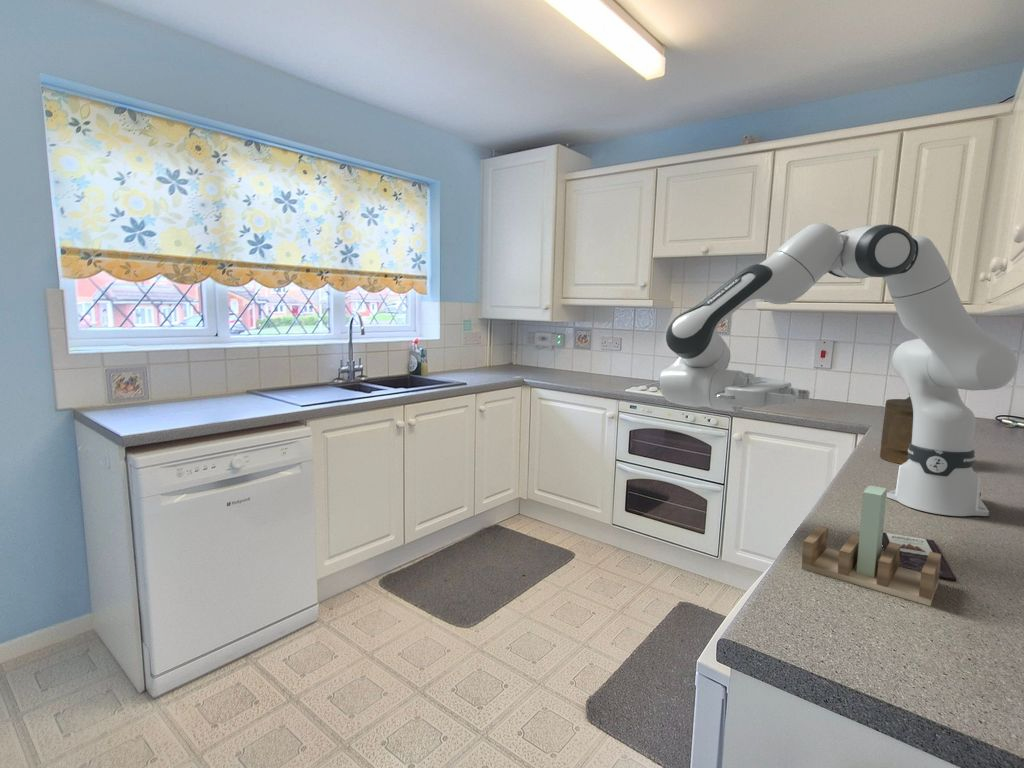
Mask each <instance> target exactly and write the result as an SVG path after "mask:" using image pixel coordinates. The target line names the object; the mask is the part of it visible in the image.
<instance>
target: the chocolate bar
mask: <svg viewBox="0 0 1024 768" xmlns="http://www.w3.org/2000/svg"><path fill="white" fill-rule="evenodd" d="M890 542H892V543H896V544H901V546H900V557H899V567H902V568H905V569H909V570H913V571H917V572H921V571H922V569H923V566H924V564H925V562H926V559H927V557H928V555H929V552H934V553H939V554H941V562H940V572H939V580H941V581H946V582H953V583H957V578H956V576H955V574H954V572H953V570H952V569H951V568H950V566H949V564H948V562H947V561H946V559H945V557H944V556H943V553H942V552H941V550H940V549H939V547H938V545H937V544H936V542H935V540H934V539H928V538H921V537H916V536H915V537H914V536H907V535H902V534H895V533H889V532H883V536H882V545H883V547H882V549H883V548H884V550H883V552H884V551H885V549H886V548H887V546H888V545H889V543H890Z"/></svg>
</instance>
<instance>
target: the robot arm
mask: <svg viewBox="0 0 1024 768" xmlns="http://www.w3.org/2000/svg"><path fill="white" fill-rule="evenodd" d="M828 273H829V274H830V275H832V276H835V277H837V278H849V279H856V280H857V279H860V280H861V279H867V278H882V279H883V281H884V282H885V283H886V287H887V289H888V292H889V294H890V297H891V300H892V302H893V305H894V307H895V310H896V312H897V316H898V317H899V319H900V323H901V324H902V326H903V327H904V328H905V329H906V330H907V331H909V332H911V334H914V335H916V336H917V337H918V338H914V339H910V340H907V341H903V342H902V343H900V344H899V345H898V346H897V348H895V350H894V352H893V355H892V357H891V358H892V360H891V362H892V364H891V365H892V368H893V370H894V372H895V373H896V374H897V375H898V376H899V378H901V380H902V381H903V383H904V384H905V386H906V389H907V391H908V395H909V394H910V395H909V396H910V398H911V401H912V406H913V430H912V442H911V443H909V448H908V458H909V459H908V460H907V461H906V462H905V463H903V464H899V466H898V473H897V480H896V487H895V488H894V489H893V490H891V491H890V490H889V491H888V492H886V498H889V499H891V500H894V501H896V502H898V503H900V504H902V505H904V506H906V507H908V508H912V509H915V510H916V511H917V510H918V511H922V512H926V513H930V514H935V515H943V516H951V517H971V516H973V517H974V516H975V517H978V516H979V517H989V516H990V511H989V510H988V508H987V506H986V505H985V504H984V502H983V501H982V499H981V498H980V497H981V495H982V492H981V491H980V487H981V477H979V475H978V474H977V473H976V472H975V470H974V469H973V467H974V465H975V464H974V463H975V459H976V456H975V455H976V454H975V450H974V438H975V431H976V430H975V429H976V416H975V414H974V412H973V410H971V409H970V408H969V407H968V406H967V405H966V404H965V403H964V401H963V400H962V399H961V396H960V393H959V390H966V391H972V392H973V391H987V390H997V389H1001V388H1003V387H1006V385H1009V383H1010V382H1011V381H1012V380H1013V378H1014V377H1015V376H1016V374H1017V370H1018V359H1017V356H1016V354H1015V352H1014V351H1013V350H1012V348H1011V347H1009V346H1007V345H1005V344H1003V343H1001V342H999V341H998V340H996V339H994V338H993V337H992V336H991V335H989V333H987V332H986V331H985V330H984V329H982V328H981V326H980V325H979V324H978V323H977V322H976V321H975V320H974V319H973V318H972V316H971V315H970V314H969V313H968V311H967V310H966V308H965V307H964V305H963V302H962V300H961V298H960V296H959V293H958V291H957V288H956V285H955V284H954V280H953V278H952V275H951V273H950V270H949V268H948V266H947V264H946V262H945V260H944V258H943V256H942V254H941V252H940V251H939V250H938V248H937V246H936V245H935V244H934V242H933V241H932V240H931V239H930V238H928V237H926V236H922V235H921V236H920V235H914V236H913V235H911V234H910V233H909V232H908V231H907V230H905V229H904V228H902V227H899V226H898V225H893V224H885V223H884V224H883V223H882V224H878V225H864V226H859V227H856V228H852V229H849V230H848V229H846V230H841V231H838V230H837V229H836V228H835V227H833V226H831V225H829V224H828V223H827V224H826V223H823V222H815V223H811V224H809V225H807V226H805V227H804V228H803V229H800V231H798V232H797V233H795V234H794V235H793V236H792V237H790V238H789V239H787V240H786V241H785V242H784V243H783V244H781V245H780V246H779V247H778V248H777V249H776V250H775V251H774V252H773V253H772V254H771V255H770V256H769V257H767V258H766V259H765V260H763V261H762V262H761V263H757V264H752V265H749V266H748V267H746V268H744V269H743V270H741V271H739V272H738V273H737V274H736V275H735V274H734V276H733V277H731V278H730V279H729V280H728V281H726V282H725V283H723V285H721V286H720V287H719V288H718V289H716V290H715V291H713V292H712V293H711V294H709V295H708V296H707V297H706V298H704V299H703V300H702V301H701V302H699V303H698V304H696V305H695V306H693V307H691V308H689V309H688V310H687V309H686V311H683V312H682V313H680V314H678V315H677V316H676V317H675V318H674V319H673V320H672V321H671V322H670V323H669V325H668V327H667V330H666V335H665V341H666V344H667V346H668V348H669V349H670V350H671V351H672V352H673V353H674V354H676V355H677V356H678V358H677V359H676V360H675V361H674V362H673V363H672V364H671V365H669V366H668V367H666V368H664V369H663V370H661V372H660V374H659V379H658V380H659V381H658V383H659V389H660V392H661V395H662V396H663V398H665V400H667V401H668V402H670V403H672V404H677V405H681V406H686V407H693V408H701V407H706V408H710V409H712V410H716V411H717V410H718V411H724V412H725V411H726V412H733V413H735V412H736V413H738V412H740V411H741V410H742V409H743V408H745V409H747V408H748V409H761V408H764V407H768V406H770V405H793V404H795V403H796V399H799V400H807V399H809V398H810V394H811V392H810V390H808V389H800V388H798V387H792V383H791V382H790V381H786V380H783V379H782V380H781V379H774V378H767V377H761V376H755V374H754V373H748V372H747V373H746V372H744V371H742V370H734V369H733V370H732V369H728V366H729V363H730V360H731V350H730V348H729V346H728V344H727V342H726V341H725V340H724V339H723V337H722V336H721V334H720V333H719V332H718V327H719V326H720V324H721V323H722V322H723V321H724V320H726V319H727V318H729V317H730V316H731V315H732V314H734V313H735V312H736V311H737V310H739V309H740V308H741V307H743V306H744V305H745V304H747V303H749V302H750V301H753V300H754V301H755V300H762V301H764V302H766V303H769V304H773V305H788V304H791V303H794V301H796V300H798V299H800V298H801V297H802V296H804V295H805V294H806V293H807V292H808V291H809V290H810V289H811V288H812V287H813V286H814V285H815V284H816V283H817V282H818V281H819V280H821V279H822V277H823V276H824V275H826V274H828Z"/></svg>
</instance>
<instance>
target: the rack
mask: <svg viewBox="0 0 1024 768" xmlns="http://www.w3.org/2000/svg"><path fill="white" fill-rule="evenodd" d="M828 536H829V527H828V526H823V525H818V526H817V527H816V528H814V530H813V531H812V532H811V533H810V534H809V535H808V536H807V537H806V538H805V539H804V540H803V542H802V543H803V544H802V557H801V569H802V570H806V571H808V572H812V573H816V574H819V575H822V576H826V577H830V578H833V579H837V580H839V581H843V582H846V583H850V584H853V585H857V586H860V587H863V588H867V589H870V590H875V591H877V592H880V593H883V594H884V593H885V594H887V595H892V596H895V597H897V598H901V599H904V600H908V601H912V602H915V603H919V604H922V605H925V606H929V607H931V605H932V602H933V599H934V597H935V595H936V591H937V588H938V586H939V580H940V579H939V572H940V562H941V554H942V553H941V554H939V553H934V552H929V555H928V557H927V559H926V562H925V564H924V566H923V569H922V571H921V572H917V571H913V570H909V569H905V568H902V567H899V557H900V546H901V544H896V543H892V542H890V543H889V545H888V546H887V548H886V549H885V551H884V550H883V553H881V558H880V559H879V561H878V571H877V573H876V575H875V576H874V577H871V576H867V575H864V574H860V573H857V560H858V548H859V536H860V534H857V533H852V534H851V535H850V537H849V538H848V539H847V541H846V542H845V543H844V545H842V547H841V548H840V549H839V550H836V549H833V548H828V539H829V537H828Z"/></svg>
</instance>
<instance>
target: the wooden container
mask: <svg viewBox="0 0 1024 768" xmlns="http://www.w3.org/2000/svg"><path fill="white" fill-rule="evenodd" d="M908 395H909V396H908V397H907V398H904V399H903V398H897V399H896V398H891V399H889V398H888V399H886V400H885V405H884V415H883V422H882V423H883V424H882V430H881V442H880V454H879V457H880V458H881V459H882V460H884V461H887V462H890V463H894V464H899V465H902V464H903V463H905V462H906V461H907V460H908V459H909V458H908V448H909V443H911V442H912V430H913V406H912V401H911V398H910V394H909V393H908Z"/></svg>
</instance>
